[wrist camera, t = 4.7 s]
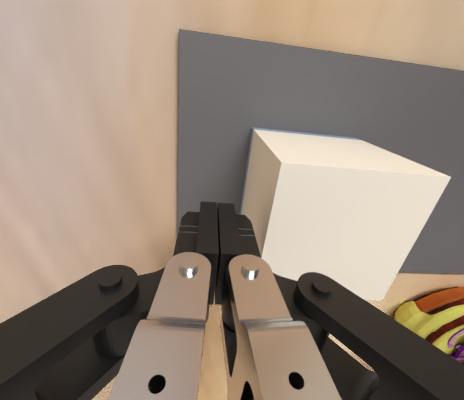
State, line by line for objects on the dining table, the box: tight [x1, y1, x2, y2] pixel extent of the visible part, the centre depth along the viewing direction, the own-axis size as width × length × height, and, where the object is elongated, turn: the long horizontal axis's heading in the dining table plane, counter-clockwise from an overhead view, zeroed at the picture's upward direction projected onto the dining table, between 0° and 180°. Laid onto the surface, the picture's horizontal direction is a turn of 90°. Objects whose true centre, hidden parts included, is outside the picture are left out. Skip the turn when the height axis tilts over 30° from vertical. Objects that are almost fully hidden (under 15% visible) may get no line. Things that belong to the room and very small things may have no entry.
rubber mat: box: [177, 29, 464, 274], centre depth 18 cm, size 27×16×1 cm, turn 84°
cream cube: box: [239, 127, 451, 300], centre depth 14 cm, size 7×7×7 cm
